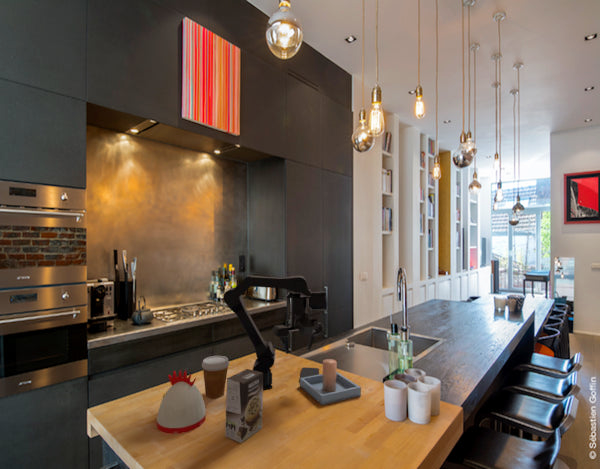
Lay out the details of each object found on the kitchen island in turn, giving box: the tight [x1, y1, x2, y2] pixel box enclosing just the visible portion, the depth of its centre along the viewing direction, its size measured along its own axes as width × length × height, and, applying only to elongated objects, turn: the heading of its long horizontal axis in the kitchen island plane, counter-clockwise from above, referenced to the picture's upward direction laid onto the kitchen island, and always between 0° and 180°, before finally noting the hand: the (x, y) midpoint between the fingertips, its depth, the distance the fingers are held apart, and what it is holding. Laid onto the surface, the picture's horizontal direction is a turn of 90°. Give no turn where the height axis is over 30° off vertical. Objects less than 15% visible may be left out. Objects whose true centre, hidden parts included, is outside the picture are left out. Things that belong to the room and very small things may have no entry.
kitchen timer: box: [156, 369, 207, 435], centre depth 102 cm, size 14×14×15 cm
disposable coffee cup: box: [201, 355, 230, 399], centre depth 119 cm, size 10×10×12 cm
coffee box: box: [224, 368, 264, 444], centre depth 96 cm, size 9×6×16 cm
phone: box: [298, 366, 320, 384], centre depth 136 cm, size 7×1×15 cm
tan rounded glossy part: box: [322, 358, 338, 392], centre depth 123 cm, size 5×5×10 cm
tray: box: [299, 371, 362, 406], centre depth 123 cm, size 16×16×3 cm
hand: (298, 351), depth 126 cm, fingers open, 9 cm apart
